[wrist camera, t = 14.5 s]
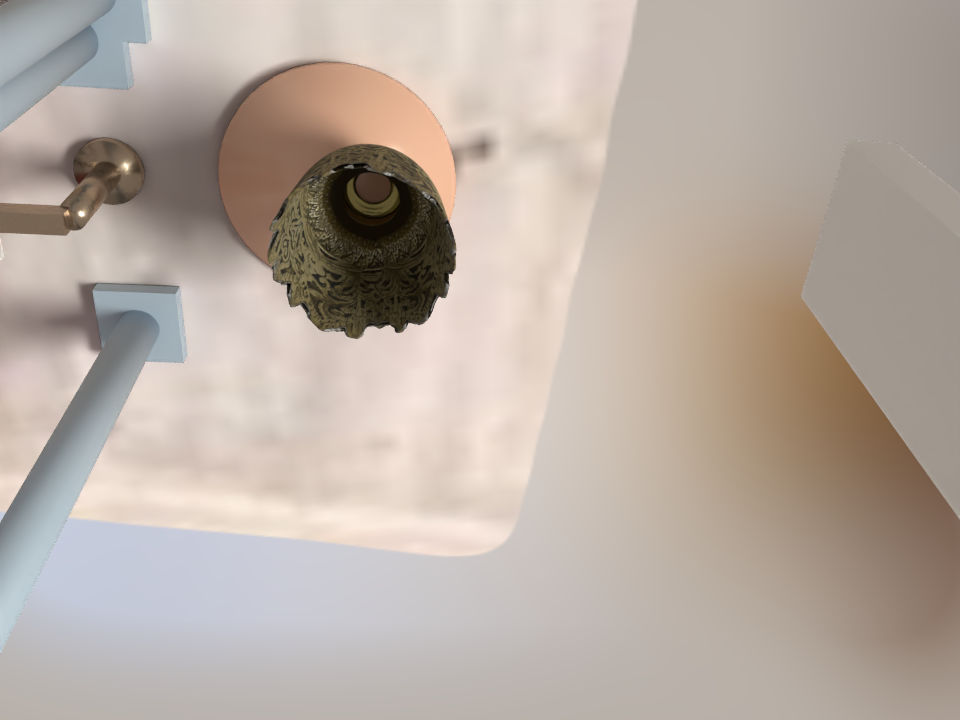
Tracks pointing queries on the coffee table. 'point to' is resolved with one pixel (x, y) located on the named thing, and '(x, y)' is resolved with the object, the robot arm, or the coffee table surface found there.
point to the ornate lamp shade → (363, 243)
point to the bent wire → (82, 191)
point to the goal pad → (322, 140)
